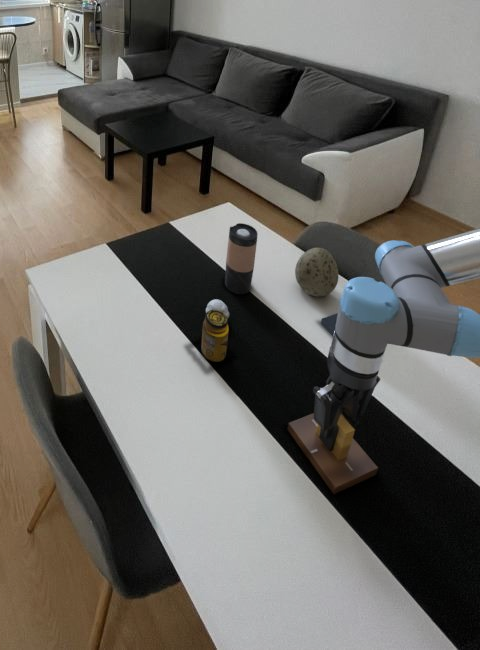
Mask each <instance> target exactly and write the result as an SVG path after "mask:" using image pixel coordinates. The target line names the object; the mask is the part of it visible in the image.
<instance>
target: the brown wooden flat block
mask: <svg viewBox="0 0 480 650" xmlns="http://www.w3.org/2000/svg"><path fill="white" fill-rule="evenodd" d="M287 424H288V425H287V431H288V433H289V434H290V436H291V437H292V439H293V440H294V441H295V443H296V444H297V445H298V447H299V448H300V449H301V451H302V453H303V454H304V456H306V458H307V459H308V461H309V462H310V464H311V465H312V467H313V468H314V470H316V472H317V473H318V474H319V476H320V477H321V478H322V481H324V483H325V484H326V486H327V487H328V488H329V490H330V491H331V492H332V494H333V495H336V494H337V493H340V492H342V491H344V490H347V489H349V488H350V487H353V486H355V485H357V484H359V483H361V482H364V481H366V480H368V479H370V478H372V477H375V476H376V475H377V473H378V470H379V467H378V465H376V463H375V462H374V461H373V460H372V458H371V457H370V456H369V455H368V454H367V453H366V451H364V449H363V448H362V447H361V446H360V444H359V443H358V442H357V440H356V439H354V438H353V439H352V442H351V446H350V449H349V453H348V456H347V457H346V458H343V459H341V460H339V461H338V460H337V458H336V457H335V456H334V455H333V453H332V452H331V451H329V450H328V448H327V447H326V446H325V444H324V443H323V442H322V441H321V439H320V438H319V435H318V434H317V433H316V430H317V426H318V423H317V422H316V421H315V419H314V412H313V413H309V414H308V415H305V416H303V417H300V418H298V419H294V420H292V421H290V422H288V423H287Z"/></svg>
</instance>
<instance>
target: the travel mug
mask: <svg viewBox="0 0 480 650" xmlns="http://www.w3.org/2000/svg"><path fill="white" fill-rule="evenodd" d="M257 242H258V231H257V229H256V228H255V227H254V226H252V225H250V224H247V223H241V222H239V223H236V224H235V225H233V226H230V227H229V231H228V241H227V248H226V257H225V258H226V259H225V276H224V286H225V287H226V289H227V290H228V291H230V292H231V293H233V294H235V295H246V294H248V293H249V292H250V291H251V286H252V281H253V276H254V270H255V261H256V253H257V245H258V243H257Z"/></svg>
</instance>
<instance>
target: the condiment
mask: <svg viewBox="0 0 480 650" xmlns="http://www.w3.org/2000/svg"><path fill="white" fill-rule="evenodd" d="M229 332H230V330H229V318H228V319H227V316H226V315H225V314H224V313H223V312H221V311H219V310H210V311H208V312H207V313H206V312H205V316H204V320H203V321H202V332H201V333H202V334H201V335H202V336H201V346H200V347H201V349H200V350H201V353H202V355H203V357H204V358H205V359H207V360H208V361H210V362H213V363H219V362H223V361H224V359H225V358H226V357H227V351H228V350H227V349H228V341H229V334H230V333H229Z"/></svg>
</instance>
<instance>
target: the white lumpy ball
mask: <svg viewBox="0 0 480 650" xmlns="http://www.w3.org/2000/svg"><path fill="white" fill-rule="evenodd" d="M210 310H219V311H221V312H223V313H224V314H225V315H226V316H227V319H228V320H229V318H230V312H229V309H228V306H227V305H226V304H225V302H223V301H222V300H221V299H217V298H216V299H215V298H214V299H212V300H210V301H209V302H208V303H207V305H206V308H205V314H206V313H207V312H208V311H210Z"/></svg>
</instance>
